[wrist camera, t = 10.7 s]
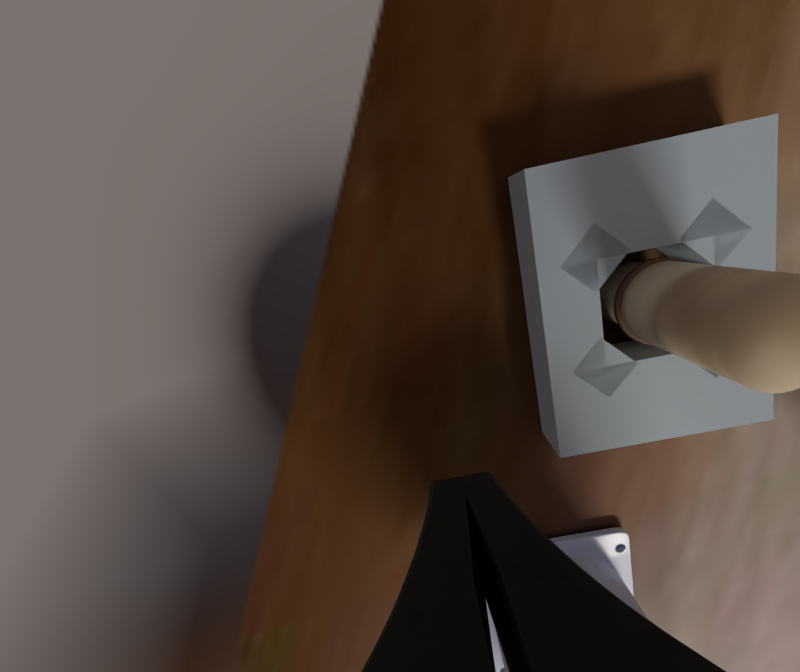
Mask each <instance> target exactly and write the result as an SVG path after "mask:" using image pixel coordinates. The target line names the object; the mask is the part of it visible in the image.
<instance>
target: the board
mask: <svg viewBox="0 0 800 672" xmlns="http://www.w3.org/2000/svg"><path fill="white" fill-rule="evenodd" d="M777 156H778V114H774V115H769V116H765V117H760V118H756V119H751V120H746V121H742V122H737V123H733V124H728V125H724V126H719V127H714V128H710V129H705V130H701V131H696V132H692V133H687V134H683V135H678V136H673V137H669V138H664V139H660V140H655V141H651V142H646V143H641V144H637V145H632V146H628V147H623V148H619V149H614V150H609V151H605V152H600V153H596V154H591V155H587V156H582V157H577V158H573V159H568V160H564V161H559V162H555V163H550V164H546V165H541V166H536V167H532V168H527V169H524V170H522V171H520V172H518V173H516V174H514V175H512V176H510V177H508V183H509V190H510V198H511V205H512V213H513V220H514V228H515V235H516V242H517V250H518V257H519V265H520V272H521V280H522V287H523V294H524V302H525V309H526V317H527V324H528V332H529V339H530V346H531V354H532V361H533V369H534V376H535V384H536V391H537V398H538V406H539V413H540V421H541V428H542V433H543V434H544V435H545V437H546V438H547V440H548V441H549V443H550V444H551V445H552V447H553V448H554V450H555V451H556V453H557V454H558V456H559V457H560V458H563V457H568V456H574V455H580V454H585V453H591V452H596V451H602V450H608V449H613V448H619V447H624V446H630V445H635V444H641V443H647V442H652V441H658V440H663V439H669V438H675V437H680V436H686V435H691V434H697V433H702V432H708V431H714V430H719V429H725V428H730V427H736V426H742V425H747V424H753V423H758V422H764V421H769V420H773V401H774V393H762V392H758V391H754V390H752V389H750V388H747V387H745V386H743V385H741V384H738V383H736V382H734V381H732V380H730V379H727V378H725V377H723V376H721V375H718V374H716V373H714V372H712V371H710V370H707V369H705V368H703V367H701V366H698V365H696V364H694V363H692V362H690V361H687V360H685V359H683V358H681V357H678V356H676V355H674V354H672V353H669V352H667V351H665V350H663V349H661V348H658V347H656V346H654V345H647V344H644V343H641V342H639V341H636V340H631V341H626V342H621V343H616V344H609V343H608V342H606V341H605V340H604V336H603V324H602V313H601V302H600V291H599V289H600V288H601V286H602V285H603V284H604V282H605V281H606V280H607V279H608V277H609V276H610V275H611V273H612V272H613V271H614V270H615V268H616V267H617V266H618V264H619V263H620V262H621V261H622V259H623V258H624V257H625V256H626V254H627V253H632V252H637V251H642V250H647V249H651V248H657V249H658V250H659V251H661V252H662V253H663V254H665V255H666V256H667V257H669V258H676V259H681V260H685V261H687V262H689V263H698V264H708V265H717V266H727V267H736V268H746V269H755V270H765V271H774V272H776V218H777Z"/></svg>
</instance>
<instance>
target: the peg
mask: <svg viewBox="0 0 800 672" xmlns="http://www.w3.org/2000/svg"><path fill="white" fill-rule="evenodd" d="M599 291H600V302H601V313H602V316H603V317H604V318H606V319H607V320H609V321H612V322H614V323H616V324H618V325H619V327H620V328H621V330H622V331H623V332H624V333H625V334H626V335H628V336H629V337H631V338H632V339H634V340H636V341H639V342H641V343H644V344H647V345H654V346H656V347H658V348H661V349H663V350H665V351H667V352H669V353H672V354H674V355H676V356H678V357H681V358H683V359H685V360H687V361H690V362H692V363H694V364H696V365H698V366H701V367H703V368H705V369H707V370H710V371H712V372H714V373H716V374H718V375H721V376H723V377H725V378H727V379H730V380H732V381H734V382H736V383H738V384H741V385H743V386H745V387H747V388H750V389H752V390H754V391H758V392H762V393H784V392H789V391H793V390H796V389H798V388H800V274H793V273H784V272H774V271H765V270H755V269H746V268H736V267H727V266H717V265H708V264H698V263H689V262H687V261H685V260H681V259H676V258H667V257H661V258H654V259H650V260H648V261H645V262H643V263H642V262H634V261H624V262H620V263H619V264H618V266H617V267H616V268H615V270H614V271H613V272H612V273H611V275H610V276H609V277H608V279H607V280H606V281H605V282H604V284H603V285H602V286H601V288H600V289H599Z"/></svg>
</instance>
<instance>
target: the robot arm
mask: <svg viewBox="0 0 800 672" xmlns="http://www.w3.org/2000/svg"><path fill="white" fill-rule="evenodd" d="M619 544H621V545H620V546H618V547H616V546H617V545H619ZM361 672H726V671H724V670H722V669H721V668H719V667H718V666H716V665H715V664H713V663H712V662H710V661H709V660H707V659H706V658H704V657H703V656H701V655H700V654H698V653H697V652H695V651H693V650H692V649H690V648H689V647H687V646H686V645H684V644H683V643H681V642H680V641H678V640H677V639H675V638H674V637H672V636H671V635H669V634H668V633H666V632H665V631H663V630H662V629H660V628H659V627H657V626H656V625H655V624H653V623H652V622H651V621H649V620H648V619H647V617H646V616H645V614H644V613H643V611H642V609H641V608H640V606H639V605H638V603H637V601H636V600H635V598H634V591H633V579H632V567H631V555H630V543H629V536H628V534H627V533H626V532H625V530H624V529H623V528H620V527H614V528H609V529H603V530H597V531H591V532H585V533H579V534H573V535H567V536H561V537H555V538H548V537H547V536H546V535H545V534H544V533H543V532H542V531H541V530H540V529H539V528H538V527H537V526H536V525H535V524H534V523H533V522H532V521H531V520H530V519H529V518H528V517H527V516H526V515H525V514H524V513H523V512H522V510H521V509H520V508H519V507H518V506H517V505H516V504H515V503H514V502H513V500H512V499H511V498H510V497H509V496H508V495H507V493H506V492H505V491H504V490H503V489H502V487H501V486H500V485H499V483H498V482H497V481H496V479H495V478H494V476H493V475H491V474H490V473H488V472H483V473H478V474H472V475H467V476H461V477H456V478H450V479H445V480H439V481H434V482H433V484H432V485H431V486H430V496H429V502H428V508H427V512H426V516H425V520H424V524H423V528H422V531H421V534H420V538H419V541H418V544H417V548H416V551H415V554H414V557H413V560H412V562H411V565H410V568H409V570H408V573H407V576H406V578H405V581H404V584H403V586H402V589H401V591H400V594H399V596H398V598H397V601H396V603H395V605H394V608H393V610H392V612H391V614H390V617H389V619H388V621H387V623H386V625H385V627H384V629H383V631H382V633H381V635H380V637H379V639H378V641H377V643H376V645H375V647H374V649H373V651H372V653H371V655H370V657H369V658H368V660H367V662H366V664H365V666H364V668H363V670H362V671H361Z"/></svg>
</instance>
